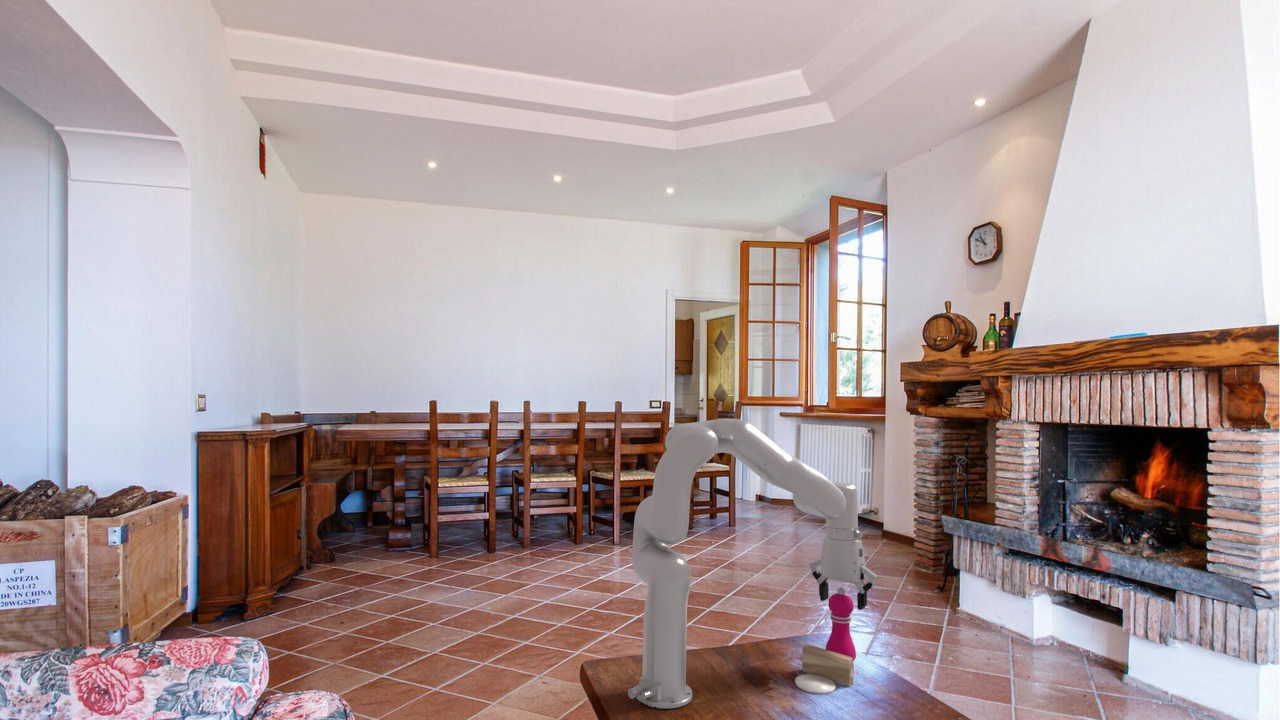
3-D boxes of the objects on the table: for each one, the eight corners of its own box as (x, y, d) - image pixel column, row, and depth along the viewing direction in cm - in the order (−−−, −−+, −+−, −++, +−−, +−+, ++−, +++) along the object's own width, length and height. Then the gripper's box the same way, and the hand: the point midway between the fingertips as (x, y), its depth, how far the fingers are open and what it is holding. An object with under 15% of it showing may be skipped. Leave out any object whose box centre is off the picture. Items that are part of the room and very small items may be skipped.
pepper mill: (844, 679, 154) (845, 593, 155) (819, 669, 160) (819, 586, 161) (861, 672, 159) (862, 588, 160) (836, 662, 164) (836, 581, 165)
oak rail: (849, 686, 150) (849, 660, 151) (802, 671, 158) (802, 645, 159) (853, 684, 152) (853, 657, 152) (806, 668, 160) (806, 643, 160)
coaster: (824, 697, 144) (824, 695, 144) (788, 685, 150) (788, 682, 150) (842, 685, 151) (842, 682, 151) (806, 673, 157) (806, 671, 157)
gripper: (882, 536, 158) (883, 608, 157) (816, 526, 170) (817, 593, 169) (869, 541, 153) (870, 616, 152) (802, 530, 164) (803, 599, 163)
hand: (842, 604), depth 160 cm, fingers open, 9 cm apart
